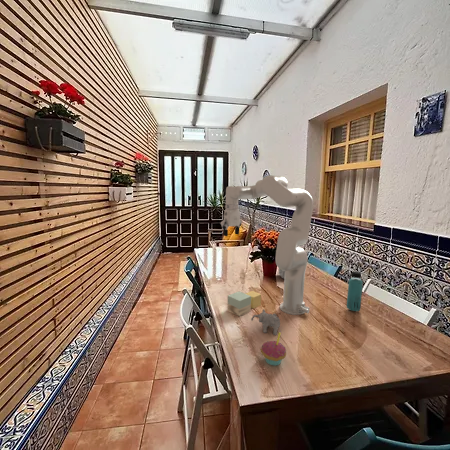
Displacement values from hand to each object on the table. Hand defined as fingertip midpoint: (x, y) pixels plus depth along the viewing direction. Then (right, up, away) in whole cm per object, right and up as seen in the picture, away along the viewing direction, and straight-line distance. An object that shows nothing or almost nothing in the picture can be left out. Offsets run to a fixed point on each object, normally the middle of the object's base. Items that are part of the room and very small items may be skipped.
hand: (231, 235), depth 157 cm
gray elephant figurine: (+13, -39, -48) cm, 63 cm away
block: (+10, -35, -25) cm, 44 cm away
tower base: (+3, -36, -31) cm, 48 cm away
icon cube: (+39, -29, +20) cm, 53 cm away
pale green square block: (+3, -32, -32) cm, 45 cm away
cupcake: (+13, -42, -68) cm, 81 cm away
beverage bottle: (+60, -37, -29) cm, 76 cm away
